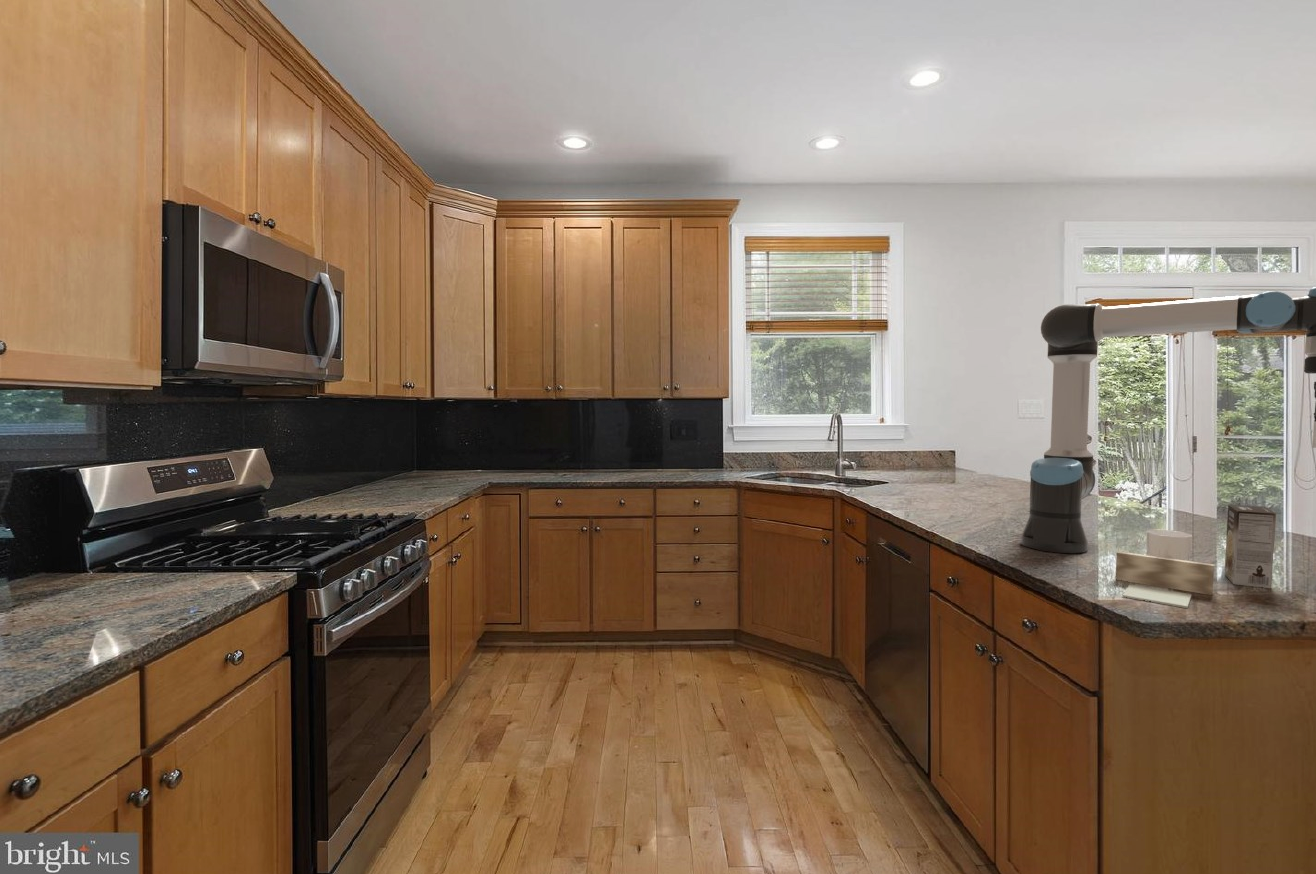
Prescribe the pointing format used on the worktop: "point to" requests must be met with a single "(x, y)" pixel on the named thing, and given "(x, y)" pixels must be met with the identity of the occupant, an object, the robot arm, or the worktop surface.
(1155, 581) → the birch screen
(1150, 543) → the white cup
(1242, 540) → the coffee box
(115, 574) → the worktop surface
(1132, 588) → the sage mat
